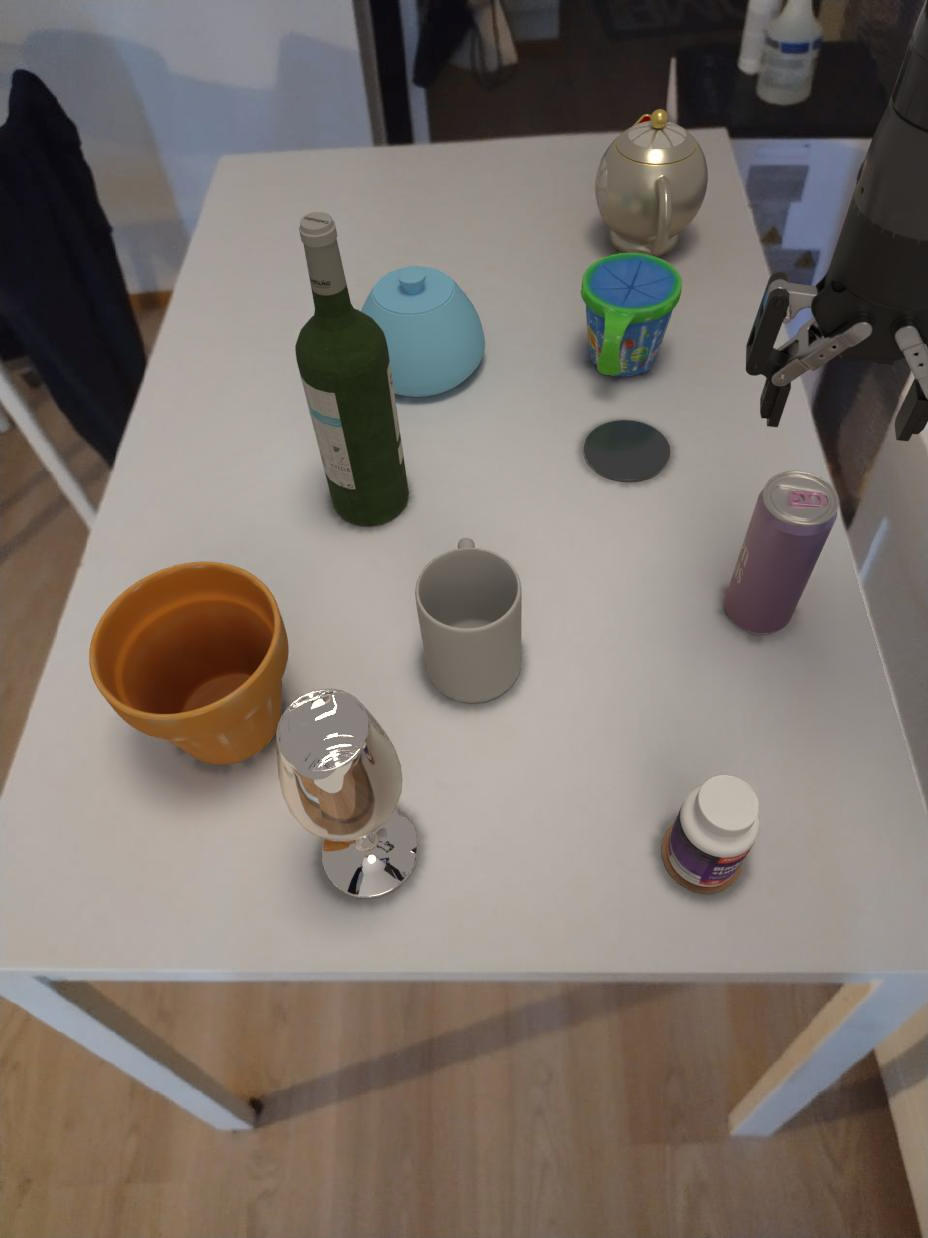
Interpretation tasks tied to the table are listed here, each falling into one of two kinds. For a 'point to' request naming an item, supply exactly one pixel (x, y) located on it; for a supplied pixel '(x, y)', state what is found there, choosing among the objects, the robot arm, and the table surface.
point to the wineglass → (346, 791)
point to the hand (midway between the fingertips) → (835, 425)
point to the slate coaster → (626, 451)
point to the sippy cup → (628, 310)
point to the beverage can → (780, 550)
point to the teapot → (650, 185)
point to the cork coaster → (684, 882)
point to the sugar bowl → (426, 330)
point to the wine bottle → (349, 389)
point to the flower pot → (195, 660)
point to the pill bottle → (714, 831)
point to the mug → (470, 622)
